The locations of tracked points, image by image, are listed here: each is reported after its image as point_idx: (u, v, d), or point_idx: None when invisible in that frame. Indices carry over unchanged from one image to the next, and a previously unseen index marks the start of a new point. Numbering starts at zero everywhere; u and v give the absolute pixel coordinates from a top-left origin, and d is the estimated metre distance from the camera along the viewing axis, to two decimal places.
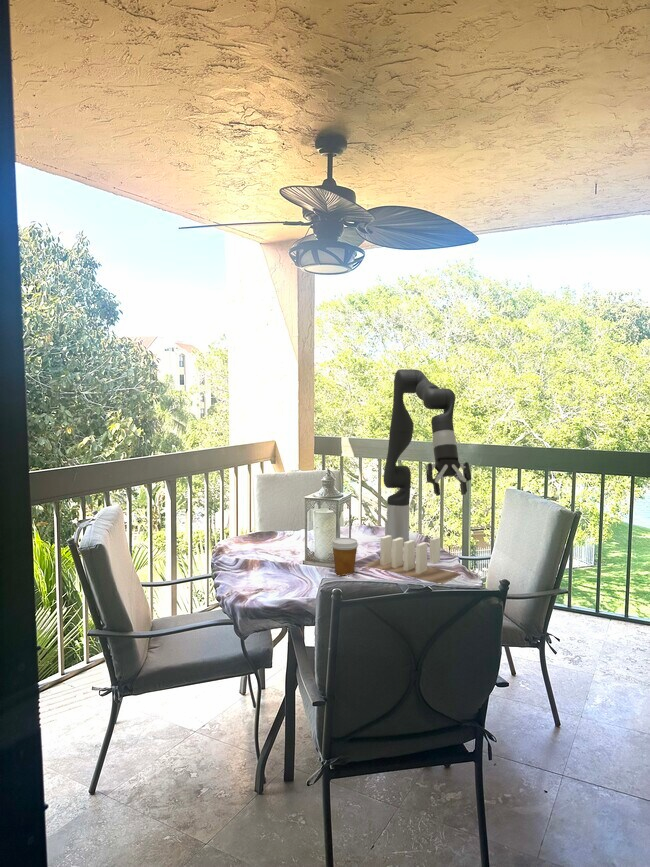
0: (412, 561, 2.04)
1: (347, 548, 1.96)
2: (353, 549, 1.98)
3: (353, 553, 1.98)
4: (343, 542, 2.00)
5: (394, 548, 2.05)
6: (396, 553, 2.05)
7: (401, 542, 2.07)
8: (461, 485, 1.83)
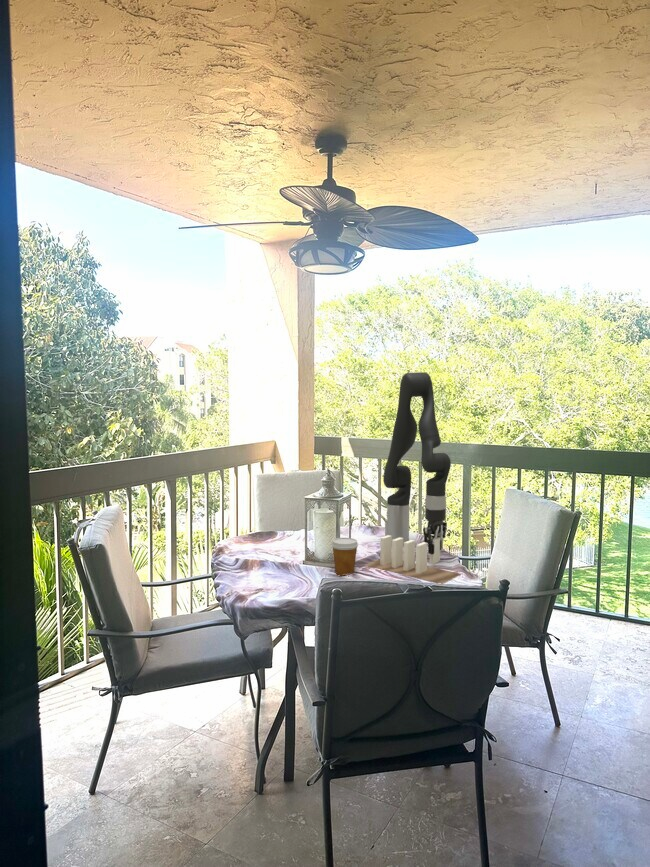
0: (412, 561, 2.04)
1: (347, 548, 1.96)
2: (353, 549, 1.98)
3: (353, 553, 1.98)
4: (343, 542, 2.00)
5: (394, 548, 2.05)
6: (396, 553, 2.05)
7: (401, 542, 2.07)
8: None
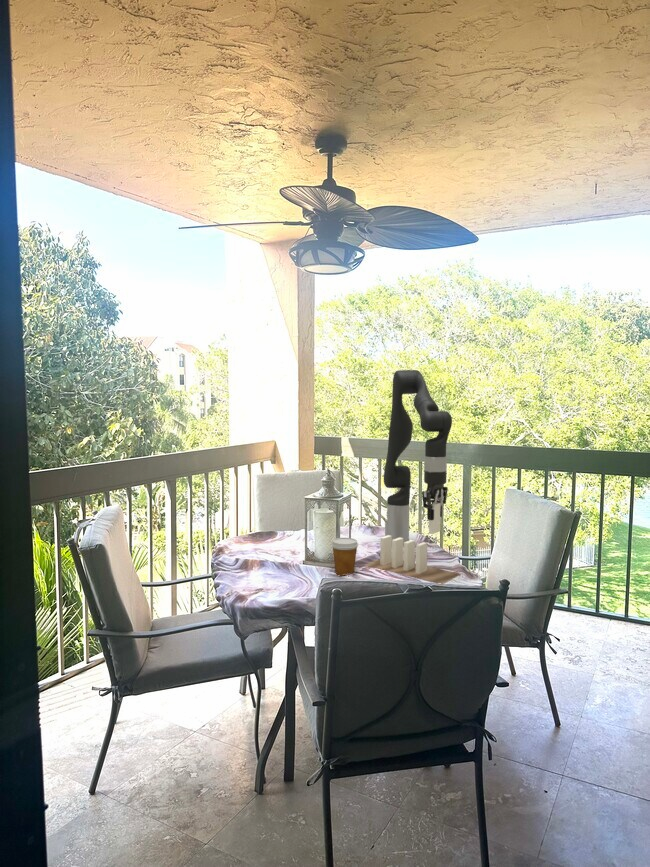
0: (412, 561, 2.04)
1: (347, 548, 1.96)
2: (353, 549, 1.98)
3: (353, 553, 1.98)
4: (343, 542, 2.00)
5: (394, 548, 2.05)
6: (396, 553, 2.05)
7: (401, 542, 2.07)
8: None
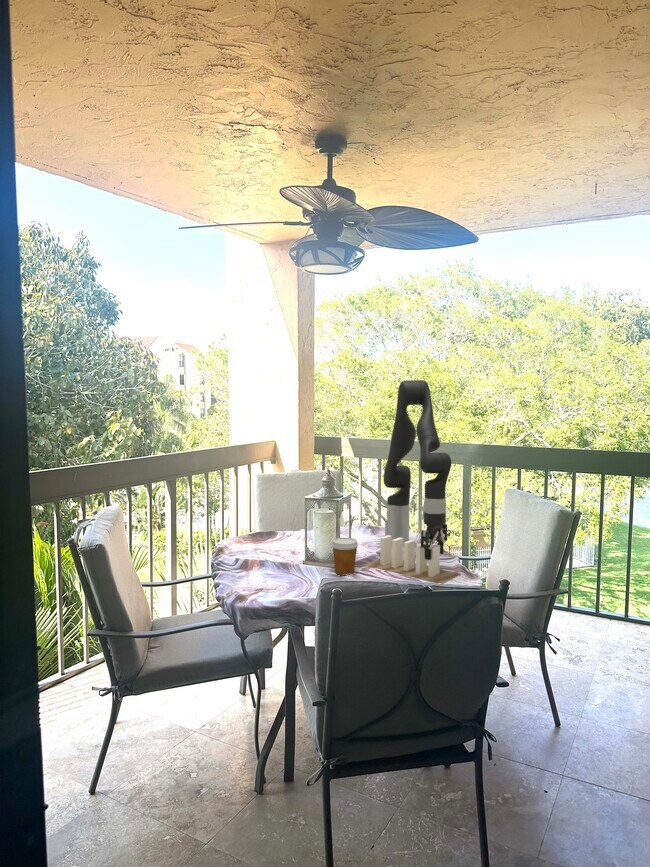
0: (412, 561, 2.04)
1: (347, 548, 1.96)
2: (353, 549, 1.98)
3: (353, 553, 1.98)
4: (343, 542, 2.00)
5: (394, 548, 2.05)
6: (396, 553, 2.05)
7: (401, 542, 2.07)
8: None
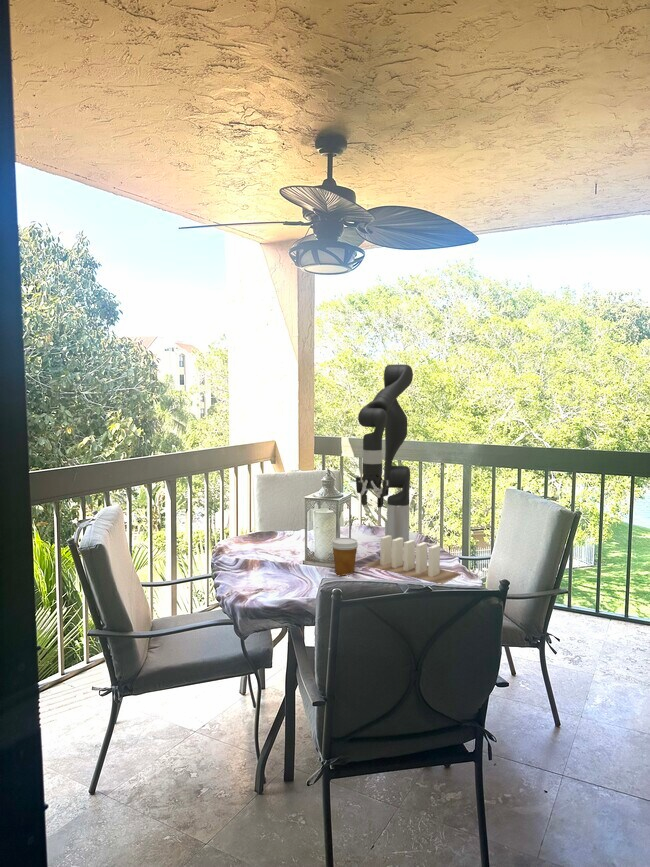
0: (412, 561, 2.04)
1: (347, 548, 1.96)
2: (353, 549, 1.98)
3: (353, 553, 1.98)
4: (343, 542, 2.00)
5: (394, 548, 2.05)
6: (396, 553, 2.05)
7: (401, 542, 2.07)
8: None
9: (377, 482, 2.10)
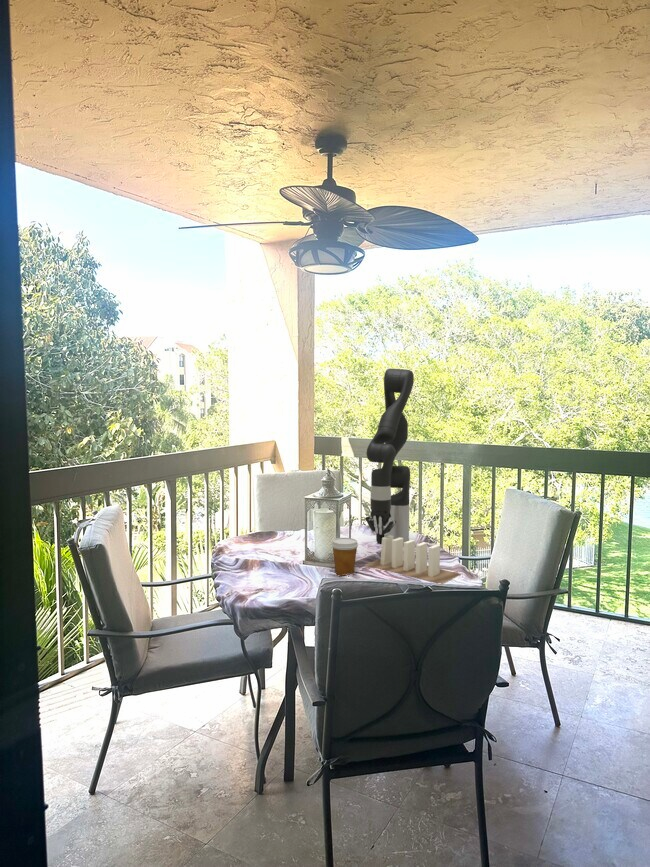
0: (412, 561, 2.04)
1: (347, 548, 1.96)
2: (353, 549, 1.98)
3: (353, 553, 1.98)
4: (343, 542, 2.00)
5: (394, 548, 2.05)
6: (396, 553, 2.05)
7: (401, 542, 2.07)
8: None
9: (385, 521, 2.08)
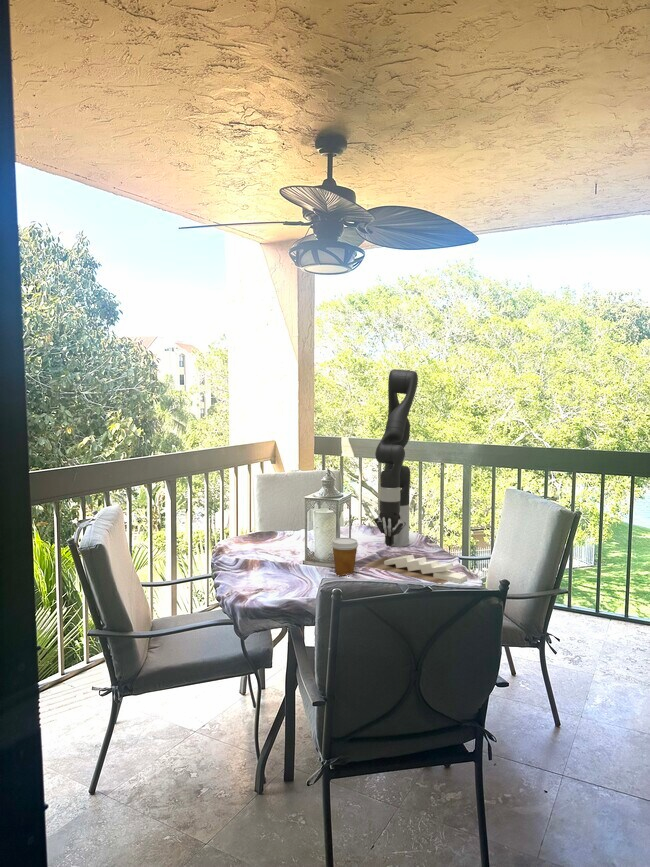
0: None
1: (347, 548, 1.96)
2: (353, 549, 1.98)
3: (353, 553, 1.98)
4: (343, 542, 2.00)
5: (412, 564, 2.00)
6: (408, 566, 2.02)
7: None
8: None
9: (394, 522, 2.06)
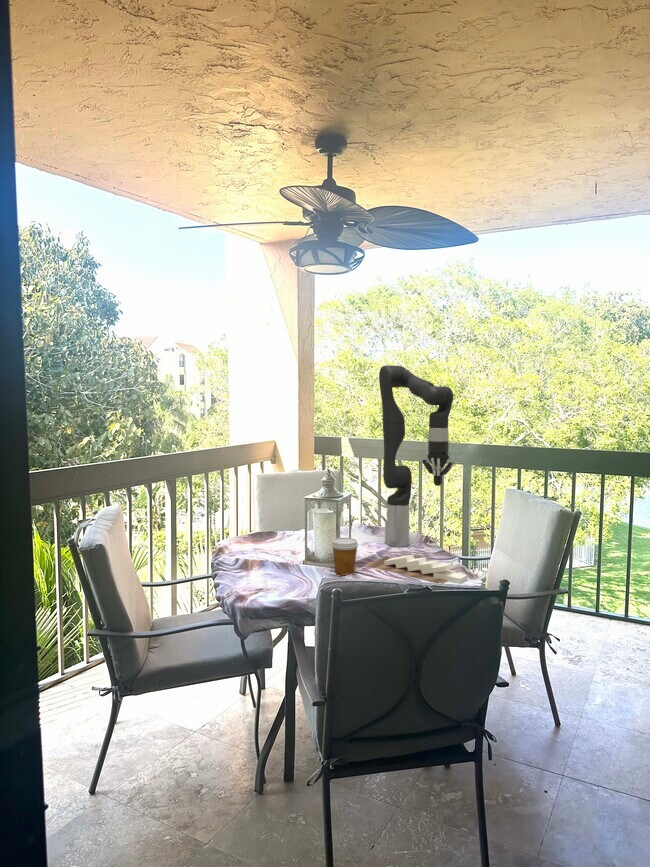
0: None
1: (347, 548, 1.96)
2: (353, 549, 1.98)
3: (353, 553, 1.98)
4: (343, 542, 2.00)
5: (412, 564, 2.00)
6: (408, 566, 2.02)
7: None
8: None
9: (443, 462, 2.12)
